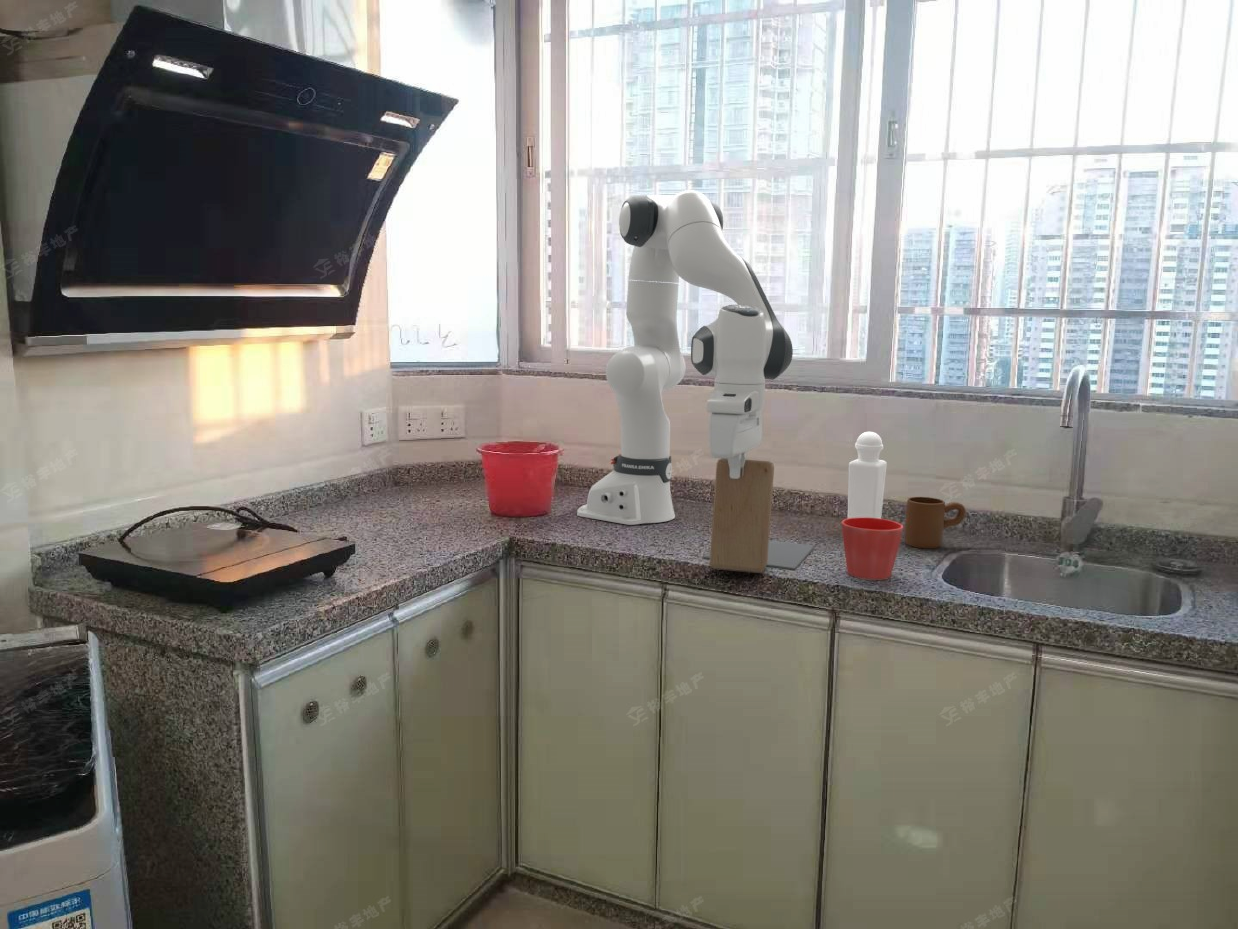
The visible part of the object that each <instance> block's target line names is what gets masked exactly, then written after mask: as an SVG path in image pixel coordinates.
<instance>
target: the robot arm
mask: <svg viewBox="0 0 1238 929" xmlns="http://www.w3.org/2000/svg"><path fill="white" fill-rule="evenodd" d="M618 227H619V234H620V236H621V238H622V240H623V241H624V242H625V243H626V244H628V245H631V246H633V248H632V252H631V253H632V254H631V258H630V264H629V272H628V282H627V298H626V310H625V311H626V314H625V315H626V319H627V321H628V322H629V324H630V326H631V330H632V331H631V332H632V336H633V343H634V346H633V345H632V346H628V347H625V348H623V349H622V350H620V351H618V352H616V353H614V354H613V355H612V356H611V358H609V359H608V361H607V363H606V368H605V375H606V376H605V377H606V381H607V384H608V386H609V387H610V388H611V389H612V391H613V392H614V394H615V398H616V402H617V407H618V411H619V417H620V431H621V432H620V437H621V438H620V442H621V443H620V453H619V454H617V455H616V456H615V457H613V458H612V459H610V461H611V462H610V465H612V467H613V468H612V469H613V470H612V471H610V472H609V473H608V474H606V475H605V476H604V477H602V478H601V479H599V480H598V481H597V482H595V483H594V484H593V485H592V486H591V487H590V489H589V491H588V495H587V502H586V504H583V505H582V506H580V507H578V509H577V511H576V515H577V516H578V517H581V518H587V519H593V520H599V521H600V520H601V521H606V522H610V523H611V522H612V523H617V524H621V525H623V524H624V525H629V526H632V525H633V526H634V525H640V524H641V525H642V524H656V523H663V522H669V521H672V520H674V519H675V518H676V515H675V510H674V506H673V501H672V493H671V492H672V491H671V481H672V473H673V472H672V471H673V469H672V468H673V465H672V456H671V455H670V454H671V453H670V452H671V421H670V418H669V417H668V416H667V413H666V411H665V407H664V403H663V402H664V401H663V394H662V393H664V392H667V391H669V390H672V389H673V388H675V387H676V386H677V385H678V384H680V382H681V381H683V379H684V377H685V374H686V368H687V366H686V365H687V364H686V360H685V358H684V356H683V354H682V353H681V348H680V341H679V340H680V339H679V333H678V332H679V331H678V325H677V324H678V323H677V315H678V313H677V311H678V299H679V298H678V297H679V282H680V278H681V279H682V280H683V281H685V282H687V283H688V284H689V285H693V286H696V287H697V288H702V289H705V290H710V291H714V292H716V293H719V294H721V295H724V296H726V297H727V298H730V299H731V300H732V301H733V302H735V303H736V304H729V305H725V306H722V307H720V310H719V311H718V315H717V318H716V319H715V320H713V321H712V322H711V323H709V324H707V325H703V326H701V327H700V328H699V329H698V330H697V331H696V332H695V333H694V335H693V336H692V338H691V343H690V359H691V360H690V362H691V364H692V366H693V367H694V368H695V369H696V371H697V372H698V373H699V374H701V375H702V376H706V377H711V378H714V383H713V385H714V386H713V391H712V394H711V396H710V397H709V398H708V399H707V402H706V410H707V413H710V415H709V421H708V424H709V426H708V431H709V433H708V434H709V436H708V437H709V451H710V454H711V457H712V458H714V459H722V458H723V459H728V464H729V468H730V478H734V479H738V478H740V477H742V476H743V469H744V464H745V460H747V455H748V454H747V453H748V452H749V451H751V450H753V449H755V448H757V447H759V446H761V445H762V440H763V416H762V415H763V414H762V411H764V410H765V402H766V401H765V400H766V380H772V381H773V380H775V379H777V378H778V377H779V376H781V375H782V374H783V373H784V372H785V371H786V370H787V369H788V368H789V366H790V365H791V363H792V359H793V355H794V353H793V352H794V351H793V350H794V349H793V348H794V347H793V343H792V341H791V340H792V339H791V337H790V335H789V334H788V332H787V331H786V329H785V328H784V327H783V325H782V324H781V322H780V321H779V320H778V318H777V316H776V314H775V312H774V310H773V308H772V306H771V304H770V301H769V299H768V298H767V296H766V293H765V292H764V290H763V287H762V285H761V284H760V281H759V279H758V277H757V275H756V273H755V272H754V270H753V268H752V266H751V265H750V264H749V263H748V262H747V261H746V260H745V259H743V258H742V257H741V256H739V254H738V253H736V252H735V251H734V249H733V248H732V247H731V245H729V243H728V241H727V239H726V237H725V236H724V232H723V229H724V216H723V212H722V210H721V207H720V206H719V205H718V203H716V202H714V201H711V200H710V199H708V197H707V196H706V195H705V194H704V193H701V192H699V191H697V190H684V191H681V192H678V193H676V194H673V195H660V194H659V195H657V194H656V195H652V194H651V195H647V194H643V193H641V194H636V195H635V194H634V195H630V196H629V197H628V198H627V199H625V201H624V202H623V203H622V205H621V208H620V212H619V216H618Z"/></svg>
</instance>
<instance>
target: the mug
mask: <svg viewBox="0 0 1238 929" xmlns="http://www.w3.org/2000/svg"><path fill="white" fill-rule="evenodd" d="M905 508H906V509H905V518H904V519H905V520H904V521H905V522H904V535H903V536H904V537H903V538H904V540H903V541H904V543H905V544H906V545H907V546H910V547H913V548H919V549H927V550H928V549H930V550H931V549H937V548H940V547H941V546H942V545H943V544H942V543H943V537H944V530H946V529H947V528H949V527H955V526H958V525H960V524H961V523H962V522H964V520H965V518H966V513H967V512H966V508H965V506H964V505H963V503H961V502H957V501H952V502H948V503H946V501H945V500H943V499H940V498H937V497H929V496H928V497H927V496H913V497H909V498H907V501H906V507H905ZM953 510H954V511H955V510H957V514H956V515H955V516H954V517H948V518H945V514H946V513H948V512H949V513H950V512H951V511H953Z"/></svg>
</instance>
